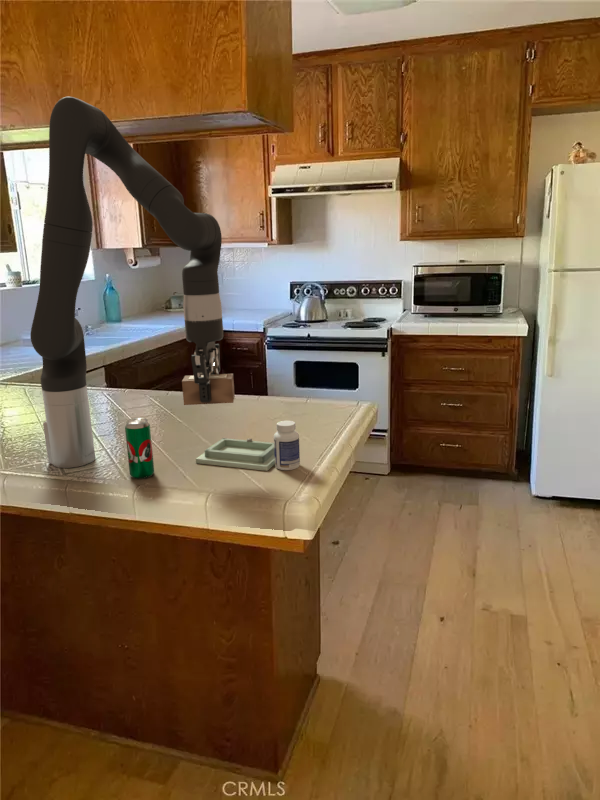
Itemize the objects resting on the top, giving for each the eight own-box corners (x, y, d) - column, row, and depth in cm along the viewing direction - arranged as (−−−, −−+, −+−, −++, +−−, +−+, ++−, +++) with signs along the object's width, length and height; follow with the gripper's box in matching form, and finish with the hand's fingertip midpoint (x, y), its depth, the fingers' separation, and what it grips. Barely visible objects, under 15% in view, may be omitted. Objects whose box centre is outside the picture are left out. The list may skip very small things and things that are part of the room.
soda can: (156, 470, 132) (151, 416, 129) (152, 479, 127) (146, 423, 124) (133, 471, 132) (127, 417, 129) (127, 480, 127) (121, 424, 124)
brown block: (183, 405, 126) (181, 380, 124) (187, 398, 130) (185, 375, 129) (233, 402, 126) (231, 378, 125) (234, 396, 131) (233, 372, 129)
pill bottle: (305, 465, 133) (303, 422, 130) (288, 472, 129) (286, 428, 126) (286, 460, 136) (285, 417, 134) (269, 467, 132) (267, 423, 130)
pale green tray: (196, 463, 136) (195, 450, 135) (218, 446, 146) (218, 434, 145) (267, 470, 130) (266, 457, 129) (285, 453, 140) (285, 441, 139)
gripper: (213, 321, 116) (219, 407, 121) (229, 311, 130) (234, 389, 134) (174, 322, 117) (182, 407, 122) (194, 312, 131) (200, 390, 135)
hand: (209, 397), depth 128 cm, fingers closed on brown block, 5 cm apart
